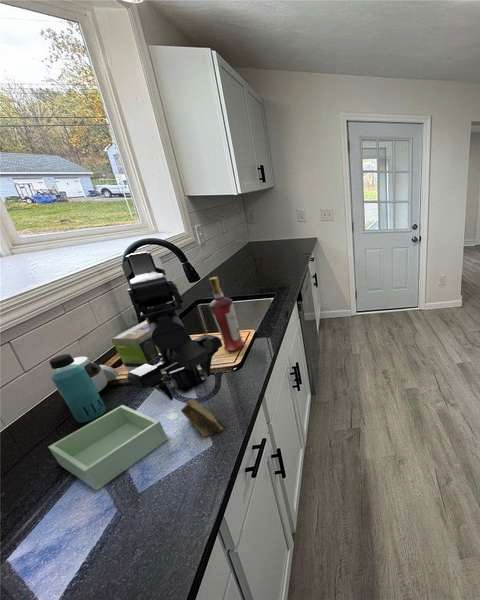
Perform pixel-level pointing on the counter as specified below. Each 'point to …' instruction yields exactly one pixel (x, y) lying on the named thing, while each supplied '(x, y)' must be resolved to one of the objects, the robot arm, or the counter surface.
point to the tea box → (136, 347)
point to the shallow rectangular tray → (108, 445)
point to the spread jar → (97, 373)
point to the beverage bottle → (77, 389)
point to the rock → (201, 418)
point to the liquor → (225, 318)
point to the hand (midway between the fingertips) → (190, 387)
